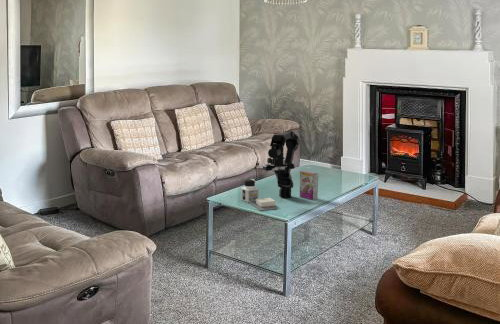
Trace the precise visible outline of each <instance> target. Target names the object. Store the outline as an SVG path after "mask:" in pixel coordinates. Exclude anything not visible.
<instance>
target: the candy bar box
mask: <svg viewBox="0 0 500 324" xmlns="http://www.w3.org/2000/svg"><path fill="white" fill-rule="evenodd" d="M299 172H300V173H299V197H300V198H304V199H307V200H311V201H314V200H318V197H319V196H318V195H319V194H318V191H319V190H318V189H319V173H318V172H313V171H309V170H301V171H299Z"/></svg>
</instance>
